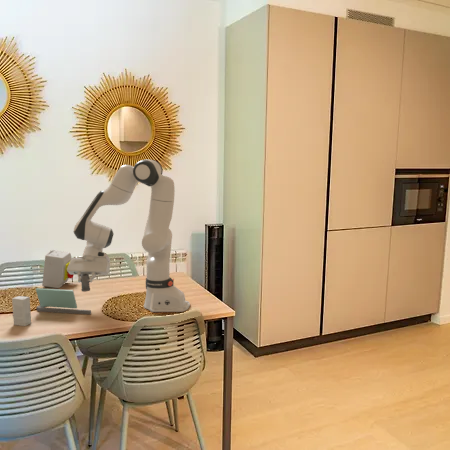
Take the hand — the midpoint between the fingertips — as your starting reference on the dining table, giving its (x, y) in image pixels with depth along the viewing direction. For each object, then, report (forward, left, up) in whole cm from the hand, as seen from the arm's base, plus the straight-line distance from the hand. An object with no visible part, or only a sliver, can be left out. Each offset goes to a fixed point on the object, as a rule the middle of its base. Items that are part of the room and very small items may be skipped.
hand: (84, 281), depth 220 cm
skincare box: (+20, +21, -14) cm, 32 cm away
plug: (0, -1, -4) cm, 4 cm away
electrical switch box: (+32, -38, -14) cm, 51 cm away
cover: (+12, +5, -7) cm, 14 cm away
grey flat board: (+9, -1, -14) cm, 17 cm away
